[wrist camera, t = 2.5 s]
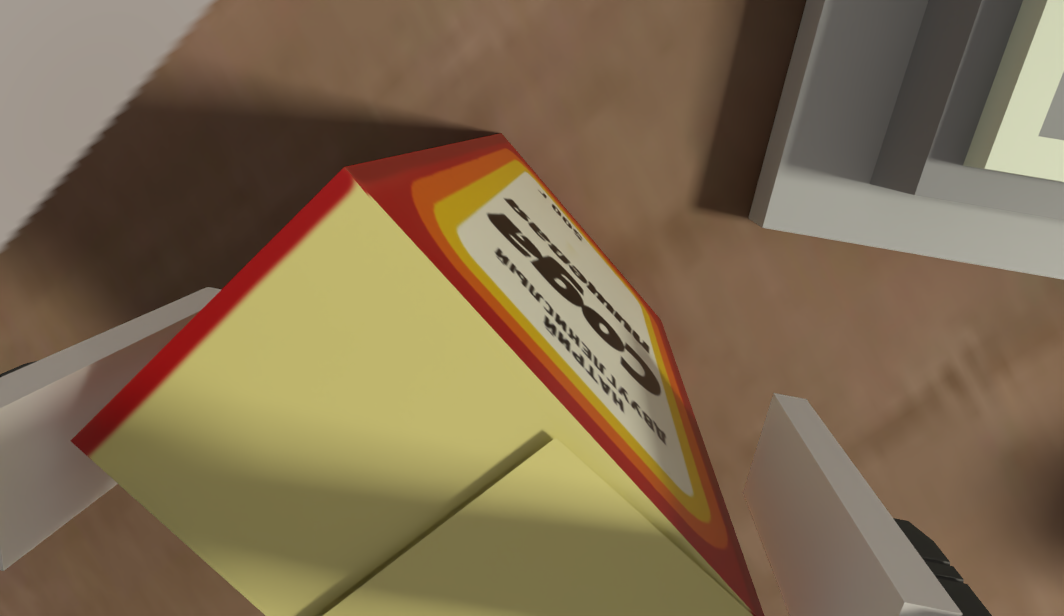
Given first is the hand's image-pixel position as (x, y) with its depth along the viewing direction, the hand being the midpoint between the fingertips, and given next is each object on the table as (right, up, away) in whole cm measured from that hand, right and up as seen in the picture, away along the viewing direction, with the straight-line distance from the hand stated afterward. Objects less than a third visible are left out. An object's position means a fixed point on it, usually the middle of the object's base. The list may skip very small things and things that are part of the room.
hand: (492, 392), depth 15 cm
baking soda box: (+1, +3, +10) cm, 10 cm away
